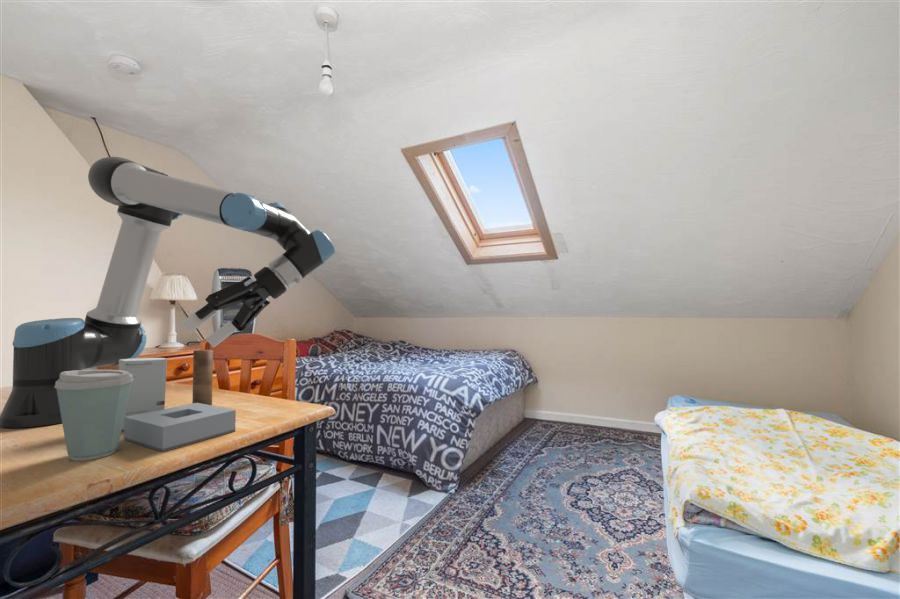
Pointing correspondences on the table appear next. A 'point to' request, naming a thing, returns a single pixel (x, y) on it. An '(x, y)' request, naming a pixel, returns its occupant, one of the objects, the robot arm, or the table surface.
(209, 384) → the walnut dowel
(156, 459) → the table surface
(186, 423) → the bore block
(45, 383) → the robot arm
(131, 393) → the skincare box
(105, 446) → the disposable coffee cup
